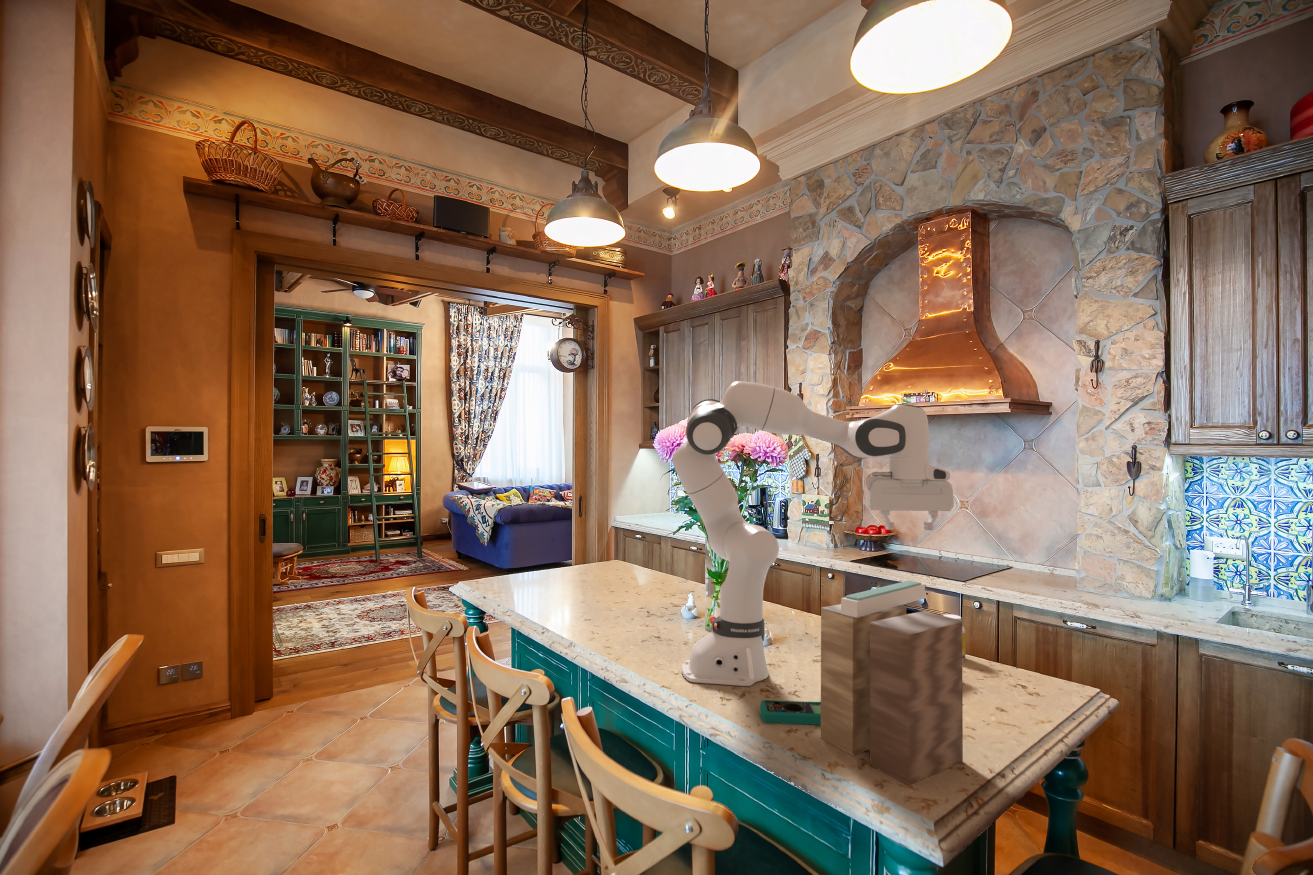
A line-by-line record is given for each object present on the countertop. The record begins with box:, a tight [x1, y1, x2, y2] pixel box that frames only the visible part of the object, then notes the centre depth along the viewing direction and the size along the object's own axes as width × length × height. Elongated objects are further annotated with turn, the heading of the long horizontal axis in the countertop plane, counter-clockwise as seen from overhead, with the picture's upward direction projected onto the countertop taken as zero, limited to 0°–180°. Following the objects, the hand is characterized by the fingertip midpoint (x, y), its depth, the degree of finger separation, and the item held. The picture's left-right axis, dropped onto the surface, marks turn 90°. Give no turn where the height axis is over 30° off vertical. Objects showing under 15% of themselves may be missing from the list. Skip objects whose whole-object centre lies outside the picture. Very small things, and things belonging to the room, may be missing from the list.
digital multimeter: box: [759, 699, 821, 726], centre depth 131 cm, size 7×15×3 cm, turn 85°
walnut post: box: [869, 610, 964, 786], centre depth 112 cm, size 16×8×26 cm, turn 121°
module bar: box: [840, 580, 926, 618], centre depth 124 cm, size 26×4×3 cm, turn 129°
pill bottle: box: [942, 613, 966, 661], centre depth 171 cm, size 6×6×12 cm
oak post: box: [820, 603, 907, 756], centre depth 122 cm, size 16×8×26 cm, turn 122°
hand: (909, 529), depth 145 cm, fingers open, 8 cm apart
